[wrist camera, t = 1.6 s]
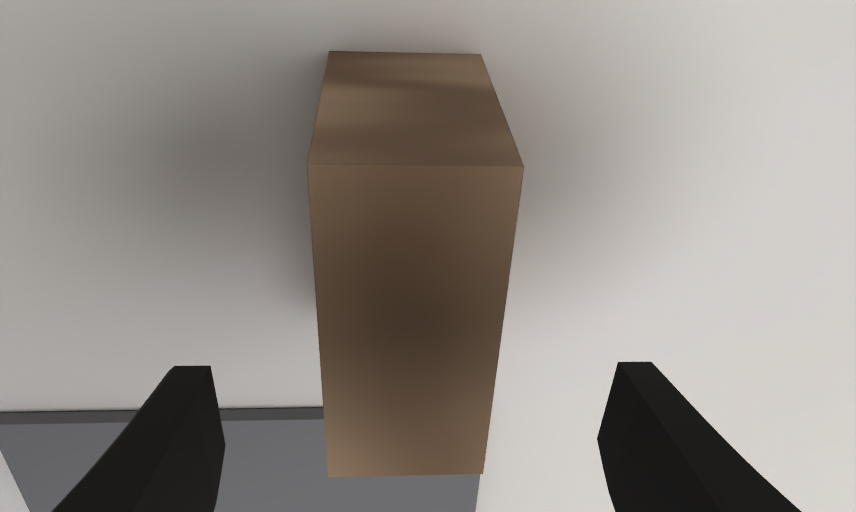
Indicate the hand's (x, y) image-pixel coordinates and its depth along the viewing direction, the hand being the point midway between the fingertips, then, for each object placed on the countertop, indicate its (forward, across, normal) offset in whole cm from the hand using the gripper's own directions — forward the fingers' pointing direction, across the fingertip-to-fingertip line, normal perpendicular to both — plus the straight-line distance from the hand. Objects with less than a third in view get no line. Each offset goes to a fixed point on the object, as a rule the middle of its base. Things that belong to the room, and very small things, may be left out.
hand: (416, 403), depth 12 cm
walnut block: (+8, 0, 0) cm, 8 cm away
